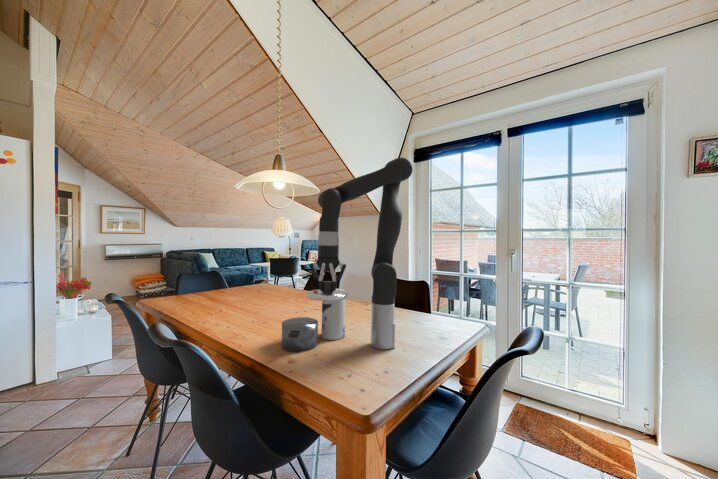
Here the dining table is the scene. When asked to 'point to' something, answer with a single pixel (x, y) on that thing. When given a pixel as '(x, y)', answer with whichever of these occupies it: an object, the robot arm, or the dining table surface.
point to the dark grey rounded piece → (299, 334)
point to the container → (333, 319)
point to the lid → (327, 293)
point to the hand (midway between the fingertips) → (327, 291)
